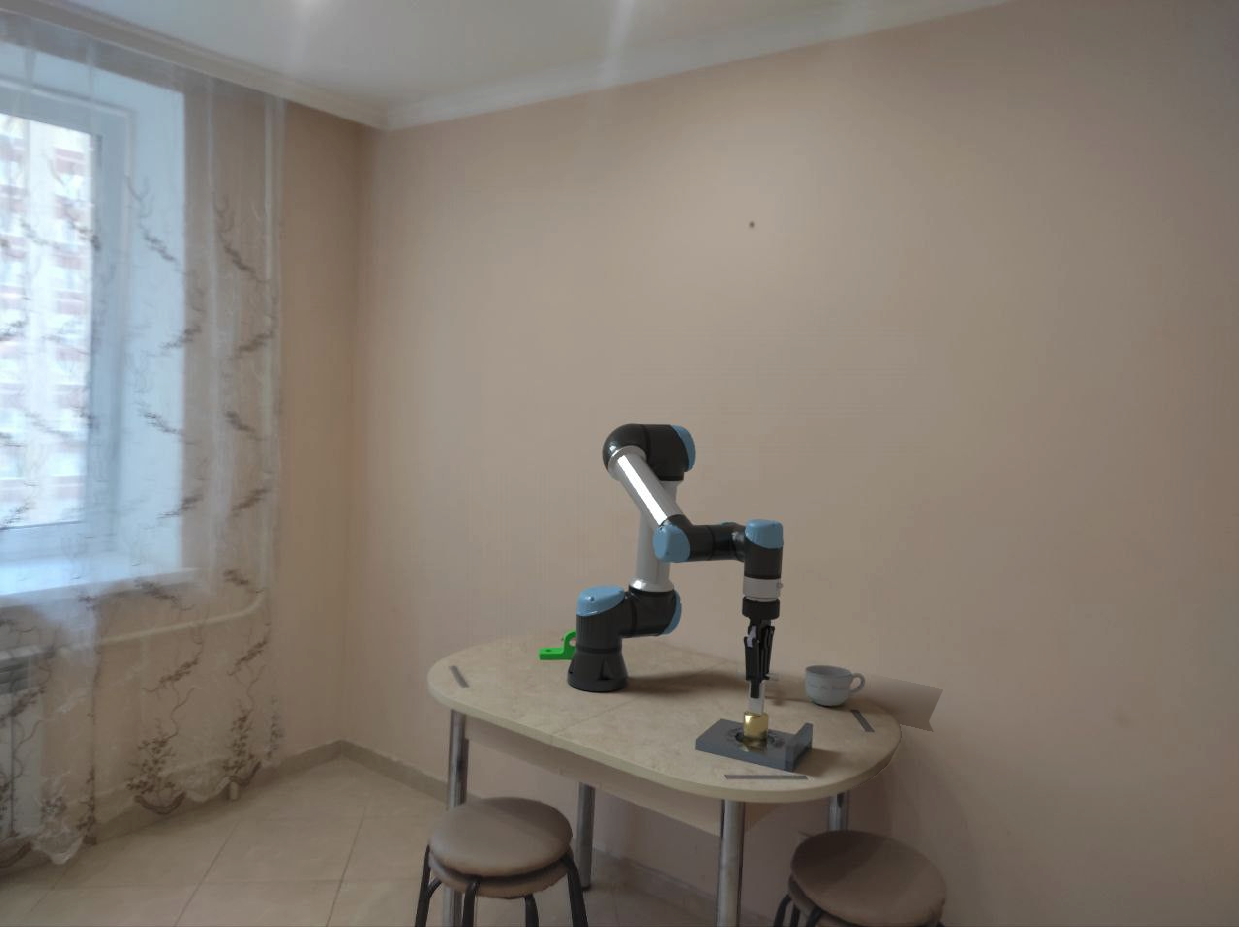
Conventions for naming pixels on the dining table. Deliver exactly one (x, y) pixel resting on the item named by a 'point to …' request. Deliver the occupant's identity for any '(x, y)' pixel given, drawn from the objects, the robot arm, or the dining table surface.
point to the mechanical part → (560, 649)
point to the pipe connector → (772, 676)
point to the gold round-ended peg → (755, 729)
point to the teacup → (830, 684)
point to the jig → (779, 753)
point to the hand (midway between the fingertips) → (755, 712)
